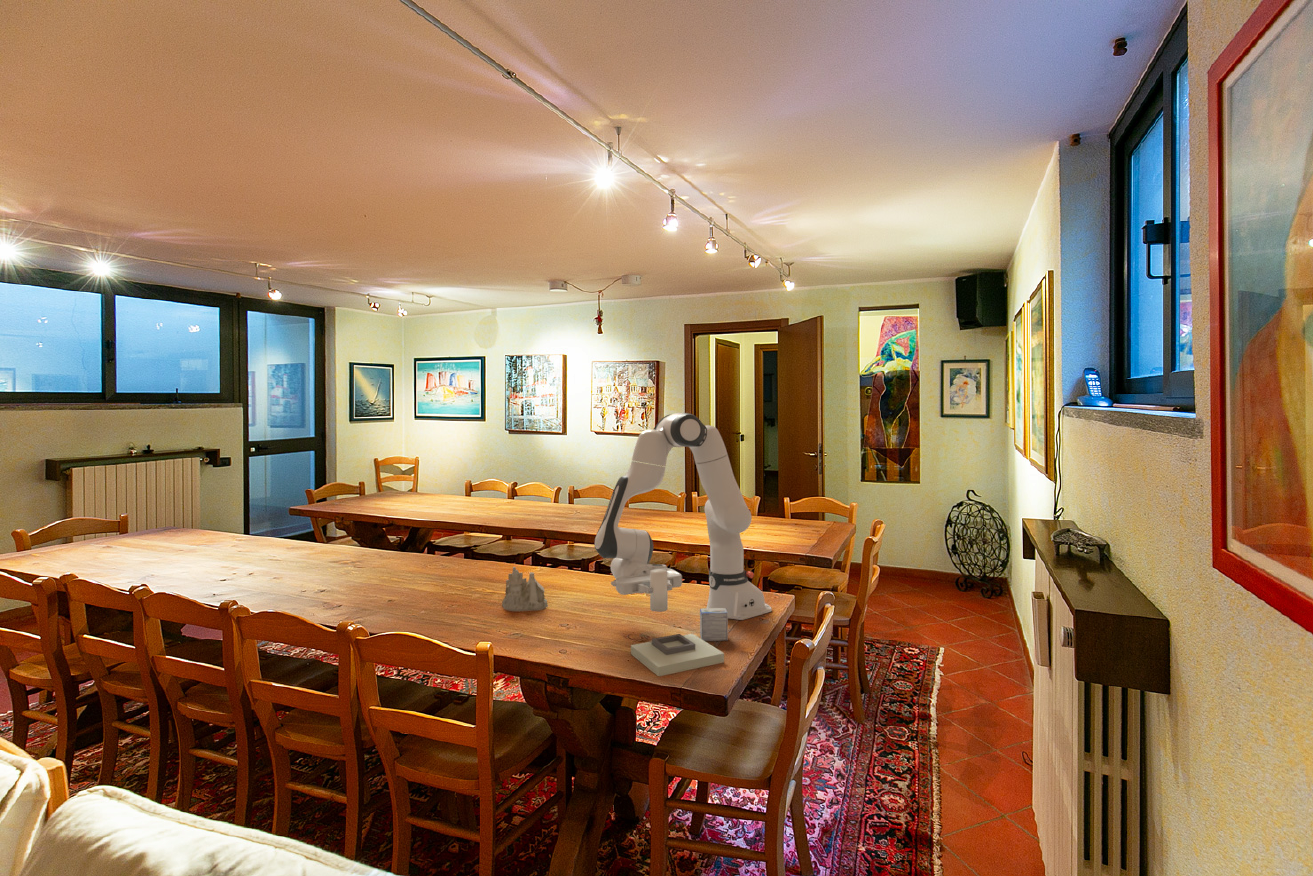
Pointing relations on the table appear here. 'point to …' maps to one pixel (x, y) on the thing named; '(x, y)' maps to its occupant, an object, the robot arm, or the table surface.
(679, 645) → the slab with grey frame
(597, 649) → the table surface
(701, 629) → the medicine box
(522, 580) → the stone castle model
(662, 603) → the white rounded capsule
